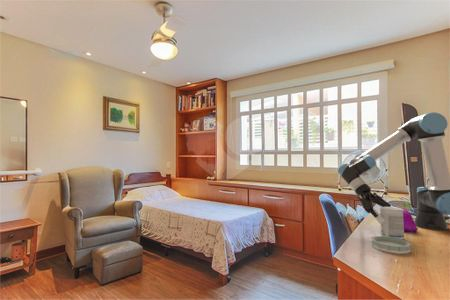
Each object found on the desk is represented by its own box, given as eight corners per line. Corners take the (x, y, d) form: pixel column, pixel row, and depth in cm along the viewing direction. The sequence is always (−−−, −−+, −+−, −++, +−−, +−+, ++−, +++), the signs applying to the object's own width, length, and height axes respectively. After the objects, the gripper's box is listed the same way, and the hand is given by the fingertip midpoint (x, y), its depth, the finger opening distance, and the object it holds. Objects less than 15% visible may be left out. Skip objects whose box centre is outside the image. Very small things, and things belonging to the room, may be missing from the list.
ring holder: (392, 242, 116) (392, 235, 117) (419, 253, 103) (418, 245, 103) (365, 243, 115) (364, 236, 115) (388, 254, 101) (388, 247, 101)
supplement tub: (407, 238, 122) (406, 208, 122) (399, 242, 116) (398, 210, 117) (386, 233, 130) (385, 205, 130) (377, 237, 124) (376, 207, 125)
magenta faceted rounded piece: (418, 234, 129) (418, 205, 130) (393, 231, 135) (392, 203, 136) (416, 229, 139) (415, 202, 139) (392, 226, 145) (391, 200, 145)
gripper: (368, 190, 146) (397, 221, 132) (341, 193, 133) (370, 228, 119) (377, 182, 141) (408, 213, 128) (351, 184, 129) (381, 219, 115)
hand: (390, 220), depth 124 cm, fingers open, 13 cm apart
